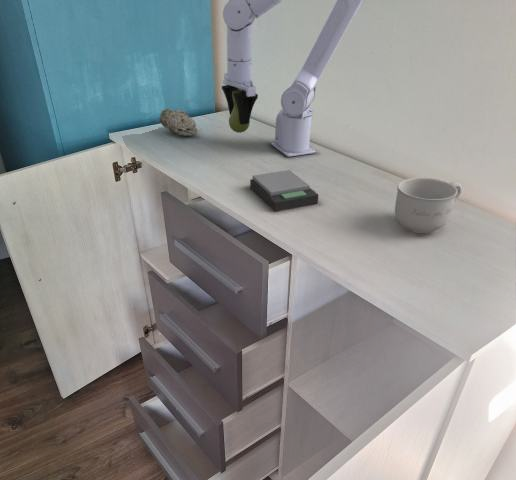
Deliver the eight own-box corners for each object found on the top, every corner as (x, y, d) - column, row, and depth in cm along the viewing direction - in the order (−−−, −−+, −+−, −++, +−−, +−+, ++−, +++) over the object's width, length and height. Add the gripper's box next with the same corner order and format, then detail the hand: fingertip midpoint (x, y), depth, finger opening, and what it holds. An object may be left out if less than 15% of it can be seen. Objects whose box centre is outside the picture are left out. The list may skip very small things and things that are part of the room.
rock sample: (178, 127, 127) (171, 95, 128) (160, 142, 132) (154, 112, 133) (209, 137, 134) (202, 107, 135) (191, 151, 139) (184, 122, 140)
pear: (250, 135, 127) (251, 92, 121) (230, 135, 127) (229, 92, 120) (248, 128, 132) (248, 86, 125) (227, 128, 131) (227, 86, 124)
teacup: (406, 242, 93) (417, 201, 88) (380, 216, 101) (388, 177, 96) (471, 234, 97) (485, 194, 91) (440, 209, 104) (451, 171, 99)
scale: (250, 188, 110) (250, 175, 108) (290, 181, 113) (291, 169, 111) (274, 211, 101) (275, 198, 100) (317, 203, 105) (319, 190, 103)
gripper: (212, 53, 122) (214, 113, 131) (235, 67, 112) (235, 130, 121) (239, 52, 124) (239, 110, 133) (264, 65, 114) (262, 127, 123)
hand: (239, 120), depth 127 cm, fingers closed on pear, 5 cm apart
